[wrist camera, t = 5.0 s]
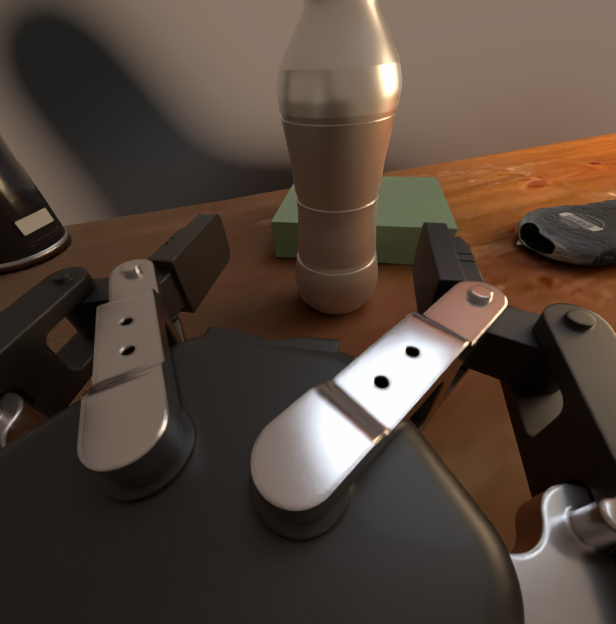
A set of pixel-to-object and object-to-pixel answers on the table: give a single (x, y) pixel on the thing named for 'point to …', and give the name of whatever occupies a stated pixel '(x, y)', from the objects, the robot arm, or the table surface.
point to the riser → (380, 218)
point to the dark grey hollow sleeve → (572, 233)
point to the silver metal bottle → (338, 144)
